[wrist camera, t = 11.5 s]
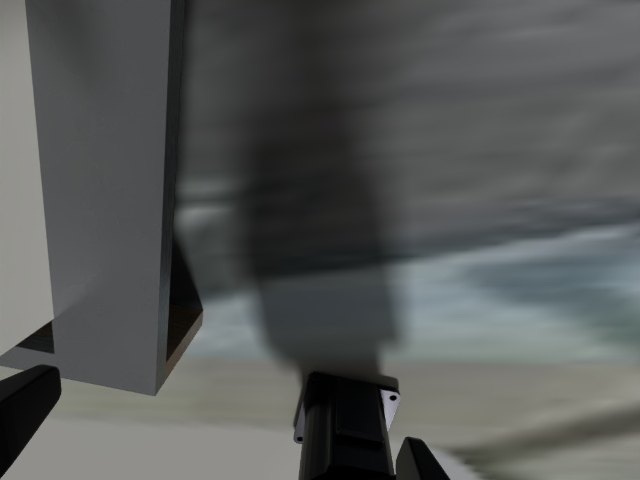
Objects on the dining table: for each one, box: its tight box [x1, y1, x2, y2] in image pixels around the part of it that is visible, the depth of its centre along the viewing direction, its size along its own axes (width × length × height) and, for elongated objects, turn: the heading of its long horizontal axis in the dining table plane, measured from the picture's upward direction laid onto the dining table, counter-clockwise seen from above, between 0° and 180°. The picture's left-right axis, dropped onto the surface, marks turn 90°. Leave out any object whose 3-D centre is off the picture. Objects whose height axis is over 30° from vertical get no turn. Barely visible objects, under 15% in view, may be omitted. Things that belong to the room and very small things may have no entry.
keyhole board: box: [0, 0, 203, 396], centre depth 15 cm, size 22×14×6 cm, turn 168°
